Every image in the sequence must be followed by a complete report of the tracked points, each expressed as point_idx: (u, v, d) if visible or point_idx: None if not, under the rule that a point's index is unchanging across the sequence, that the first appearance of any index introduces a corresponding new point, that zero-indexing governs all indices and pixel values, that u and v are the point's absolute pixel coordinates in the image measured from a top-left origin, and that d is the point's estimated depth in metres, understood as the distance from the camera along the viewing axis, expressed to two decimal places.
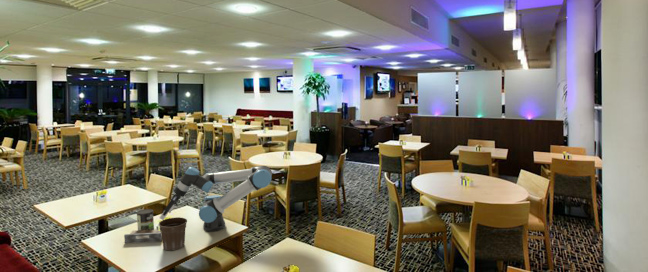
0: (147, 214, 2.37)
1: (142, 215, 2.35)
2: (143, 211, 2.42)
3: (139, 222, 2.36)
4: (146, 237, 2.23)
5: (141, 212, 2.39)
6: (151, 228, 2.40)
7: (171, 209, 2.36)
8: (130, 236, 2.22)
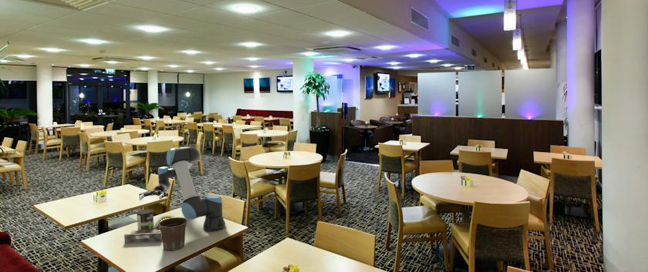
0: (147, 214, 2.37)
1: (142, 215, 2.35)
2: (143, 211, 2.42)
3: (139, 222, 2.36)
4: (146, 237, 2.23)
5: (141, 212, 2.39)
6: (151, 228, 2.40)
7: None
8: (130, 236, 2.22)
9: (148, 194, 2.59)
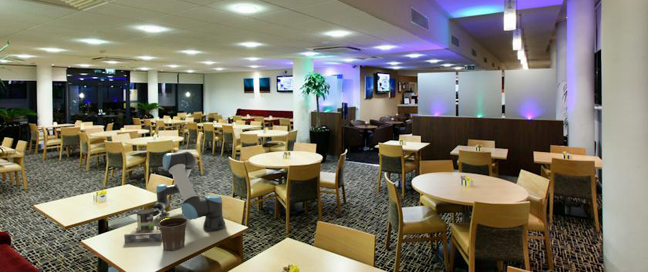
0: (147, 214, 2.37)
1: (142, 215, 2.35)
2: (143, 211, 2.42)
3: (139, 222, 2.36)
4: (146, 237, 2.23)
5: (141, 212, 2.39)
6: (151, 228, 2.40)
7: (158, 215, 2.49)
8: (130, 236, 2.22)
9: None
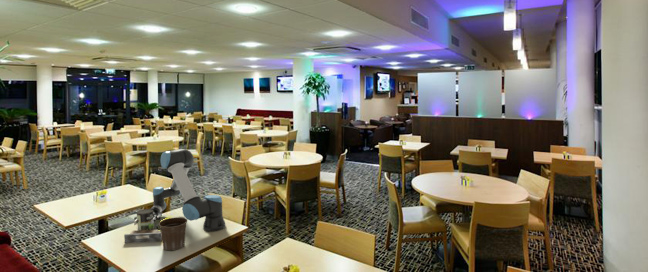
0: (147, 214, 2.37)
1: (142, 215, 2.35)
2: (143, 210, 2.42)
3: (139, 222, 2.36)
4: (146, 237, 2.23)
5: (141, 212, 2.39)
6: (151, 228, 2.40)
7: (152, 219, 2.40)
8: (130, 236, 2.22)
9: None
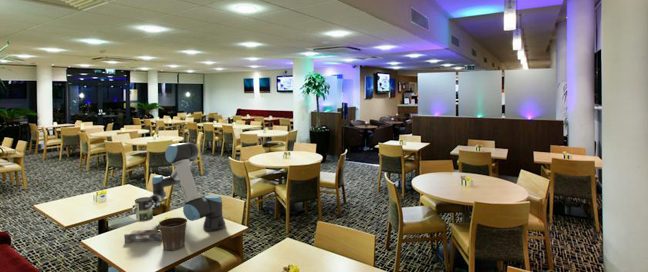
0: (145, 202, 2.31)
1: (141, 202, 2.29)
2: (141, 198, 2.36)
3: (137, 210, 2.30)
4: (146, 237, 2.23)
5: (139, 200, 2.33)
6: (150, 216, 2.34)
7: None
8: (130, 236, 2.22)
9: None
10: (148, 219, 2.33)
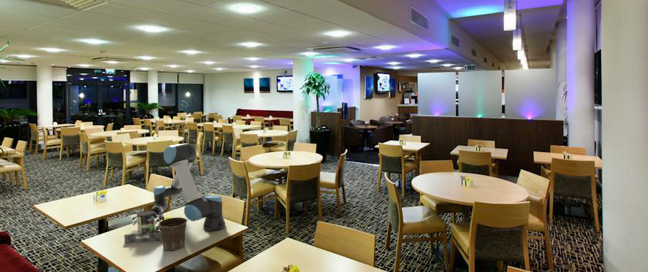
0: (148, 216, 2.25)
1: (143, 217, 2.24)
2: (143, 212, 2.30)
3: (139, 224, 2.25)
4: (146, 237, 2.23)
5: (141, 214, 2.27)
6: (152, 230, 2.28)
7: None
8: (130, 236, 2.22)
9: None
10: None
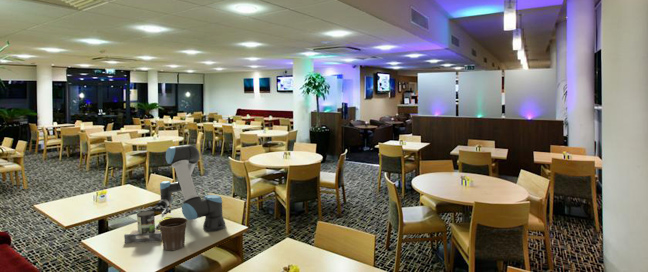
0: (148, 216, 2.25)
1: (143, 217, 2.24)
2: (143, 212, 2.30)
3: (139, 224, 2.25)
4: (146, 237, 2.23)
5: (141, 214, 2.27)
6: (152, 230, 2.28)
7: None
8: (130, 236, 2.22)
9: None
10: None
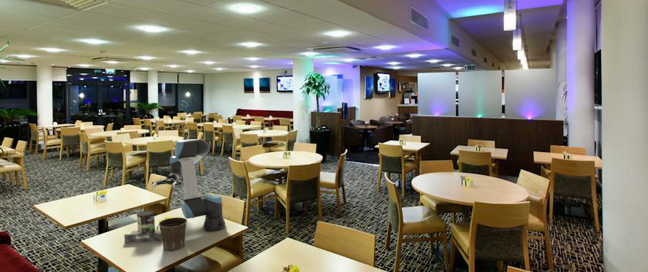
0: (148, 216, 2.25)
1: (143, 217, 2.24)
2: (143, 212, 2.30)
3: (139, 224, 2.25)
4: (146, 237, 2.23)
5: (142, 214, 2.27)
6: (152, 230, 2.28)
7: None
8: (130, 236, 2.22)
9: (161, 182, 2.54)
10: None
